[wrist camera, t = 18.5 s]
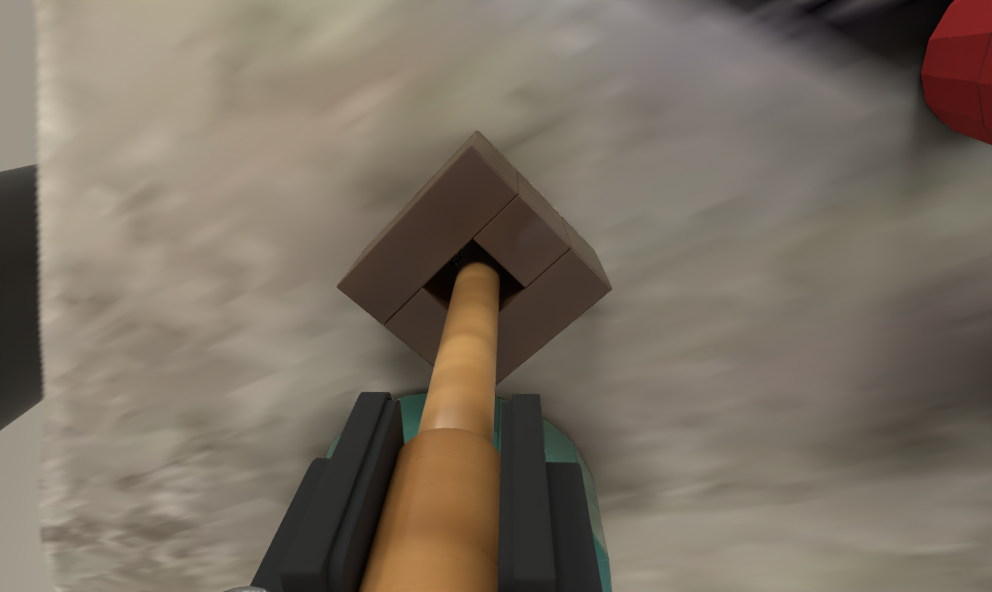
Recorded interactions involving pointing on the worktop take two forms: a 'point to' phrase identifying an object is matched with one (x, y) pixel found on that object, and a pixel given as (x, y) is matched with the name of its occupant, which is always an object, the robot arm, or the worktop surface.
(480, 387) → the stick
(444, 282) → the holder
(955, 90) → the plastic cup
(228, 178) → the worktop surface
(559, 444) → the bowl
